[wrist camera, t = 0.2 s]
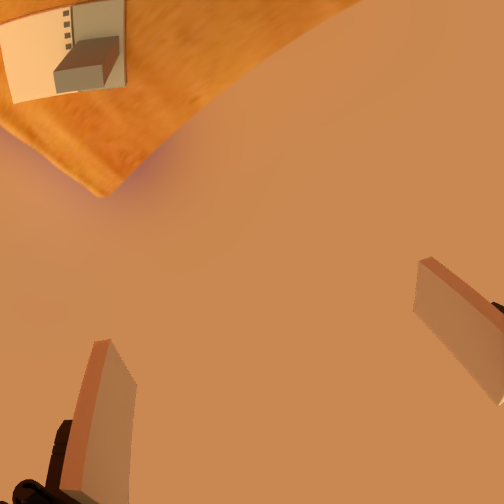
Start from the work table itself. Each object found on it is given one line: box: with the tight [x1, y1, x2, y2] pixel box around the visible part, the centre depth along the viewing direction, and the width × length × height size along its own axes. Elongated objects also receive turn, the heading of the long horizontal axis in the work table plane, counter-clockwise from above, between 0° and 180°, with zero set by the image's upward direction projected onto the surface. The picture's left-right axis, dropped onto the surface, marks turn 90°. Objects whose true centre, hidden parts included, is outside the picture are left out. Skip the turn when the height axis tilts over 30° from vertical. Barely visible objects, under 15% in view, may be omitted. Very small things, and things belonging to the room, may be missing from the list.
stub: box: [53, 0, 127, 94], centre depth 26 cm, size 6×12×10 cm, turn 170°
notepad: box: [0, 4, 79, 104], centre depth 26 cm, size 10×12×2 cm
